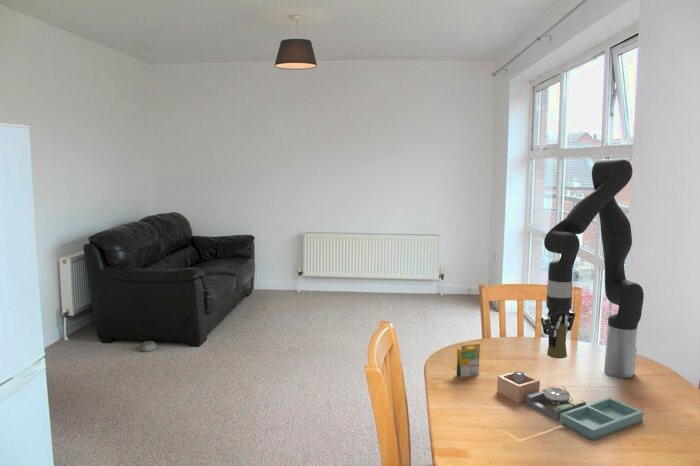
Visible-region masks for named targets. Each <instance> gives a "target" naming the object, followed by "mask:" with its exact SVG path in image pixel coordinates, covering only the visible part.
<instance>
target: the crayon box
mask: <svg viewBox="0 0 700 466" xmlns="http://www.w3.org/2000/svg"><path fill="white" fill-rule="evenodd" d="M480 345H481V344H480V343H476V344H468V345H461V347H460V348H457V349H456V351H457V353H456V376H457V377H458V378H465V377H472V376H477V375H478V376H479V375H480V348H481V346H480Z"/></svg>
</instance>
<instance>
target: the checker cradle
mask: <svg viewBox="0 0 700 466" xmlns="http://www.w3.org/2000/svg"><path fill="white" fill-rule="evenodd" d="M542 394H543V389H542V390H539V391H538V392H535V393H531V394H528V395H526V401H525V405H526V406H528V407H530V408H532V409H534V410H536V411H538V412H540V413H542V414H544V415H546V416H547V417H550V418H551V419H553V420H555V421H556V422H557V421H559V418H560V413H563V412H566V411H569V410H572V409H575V408H578V407H581V406H584V405H587V401H584V400H582V399H576V400H573V399H570V398H569V400H568V401H566V402H560V404H561V405H559V406H555V407H554V408H550V407H548V406H546V405H544V403H545V402H549V401H550V400H548V399H546V398H544V397H543V395H542ZM542 403H543V404H542Z"/></svg>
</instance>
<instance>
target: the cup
mask: <svg viewBox="0 0 700 466" xmlns="http://www.w3.org/2000/svg"><path fill="white" fill-rule="evenodd" d="M516 371H517V370H514V371H512V372H508V373H503V374H500V375H497V383H496V384H497V386H496V393H497V394H500V395H502V396H504V397H506V398H507V399H509V400H511V401H513V402H515V403H517V404H521V403H523V402H526V395H528V394H531V393H535V392H538V391H540V386H541V385H540V384H541V381H540V379H537V378H536V377H533V376H531V375H528V374H527V373H524V383H523V384H517V383H515V382H513V375H514V372H516ZM518 371H519V370H518ZM519 372H521V371H519Z"/></svg>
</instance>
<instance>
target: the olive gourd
mask: <svg viewBox="0 0 700 466" xmlns="http://www.w3.org/2000/svg"><path fill="white" fill-rule="evenodd" d="M551 326H554V327H555V326H556V325H553V324H551ZM551 329H552V328H551ZM553 330H554V329H552V332H553ZM566 330H567V326H566V324H564V323H561V324H560V326H559V329H558V330H556V332H557V334H556V346H555V348H553V347H550V346H549V345H548V348H547V351H546V352H547V354H546V355H547V356H548V357H550V358H553V359H559V360H560V359H565V358H567V357H568V352H567V343H566V342H565V332H566Z"/></svg>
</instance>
